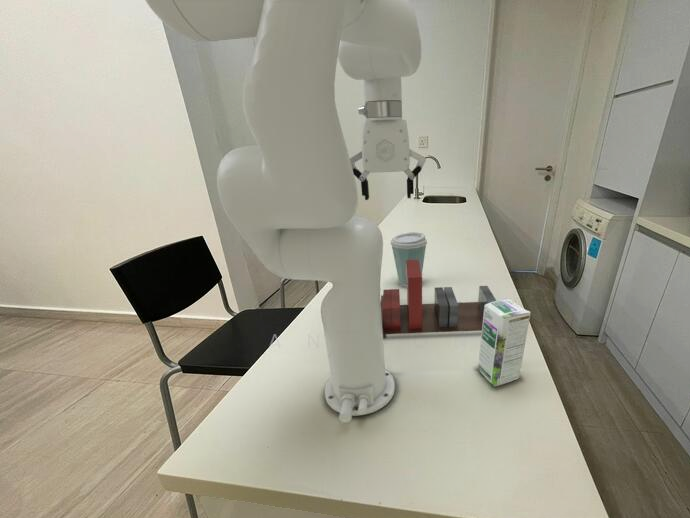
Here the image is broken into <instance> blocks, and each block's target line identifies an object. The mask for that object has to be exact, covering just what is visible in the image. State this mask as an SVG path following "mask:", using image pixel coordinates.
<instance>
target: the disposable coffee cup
mask: <svg viewBox="0 0 690 518" xmlns="http://www.w3.org/2000/svg"><path fill="white" fill-rule="evenodd" d="M427 244H428V240H427V239H426V235H425V234H424V233H423V232H418V231H415V232H411V231H410V232H405V233H400V234H398V235H394V237H392V239H390V246H391V249H392V254H393V258H394V264H395V269H396V274H397V279H398V282H399V284H400V285H403V286H407V271H406V260H419V265H420V270H421V275H422V276H423V269H424V263H425V256H426V255H425V254H426V248H427Z"/></svg>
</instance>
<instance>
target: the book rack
mask: <svg viewBox="0 0 690 518" xmlns="http://www.w3.org/2000/svg"><path fill="white" fill-rule="evenodd" d="M382 291H383V292H382V294H380V299H381V316H382V331H383V339H386V338H387V335H400V334H401V335H402V334H404V335H405V334H428V333H430V334H432V333H457V332H480V331H481V332H482V325H483V315H484V306H485V304H488V303H491V302H495V301H497V299H496V297H495V295H494V294H493V293H492V291H491V289H490V288H489V286H488V285H479V288H478V300H477V301H469V302H465V301H464V302H458V300H457V297H456V295H455V293H454V290H453V286H446V287H434V298H433V299H434V301H433V302H434V303H422V329H409V320H408V308H407V304H401V298H400V297H401V296H400V295H401V293H400V288H391V289H390V288H389V289H383V290H382Z"/></svg>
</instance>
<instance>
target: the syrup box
mask: <svg viewBox="0 0 690 518" xmlns="http://www.w3.org/2000/svg"><path fill="white" fill-rule="evenodd" d="M530 319H531V311H529V310H527V309H526V308H524V307H523V306H521V305H520V304H518V303H516V302H515V301H513V300H512V299H510V298H509V299H500V300H496V301H495V302H491V303H488V304H485V306H484V315H483V325H482V331H481V336H480V345H479V355H478V361H477V367H478V368H477V371H479V373H481V375H482V376H483V377H484V378H485V379H486V380H487V381H488V382H489V383H490V384H491V385H492V386H493V387H494V388H496V387H498V386H502V385H504V384H508V383H511V382H513V381H516V380H519V379H520V374H521V369H522V363H523V358H524V354H525V353H524V352H525V346H526V341H527V337H528V336H527V335H528V329H529V326H530V325H529V324H530Z"/></svg>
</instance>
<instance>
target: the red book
mask: <svg viewBox="0 0 690 518" xmlns="http://www.w3.org/2000/svg"><path fill="white" fill-rule="evenodd" d="M406 271H407V285H406V302H407V304H406V305H407V308H408V320H409V329H422V304H423V274H422V275H421V270H420V265H419V260H406Z"/></svg>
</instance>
